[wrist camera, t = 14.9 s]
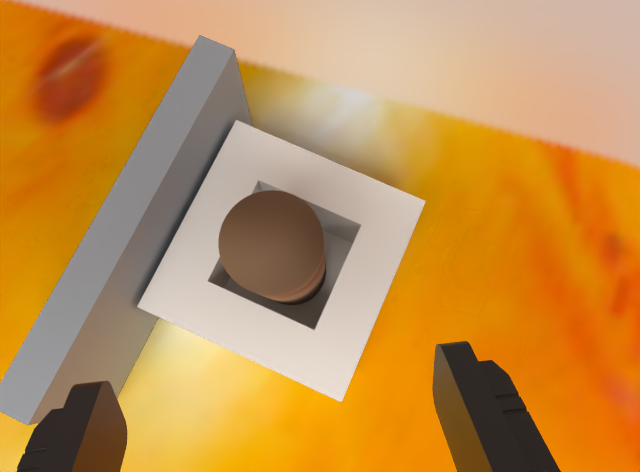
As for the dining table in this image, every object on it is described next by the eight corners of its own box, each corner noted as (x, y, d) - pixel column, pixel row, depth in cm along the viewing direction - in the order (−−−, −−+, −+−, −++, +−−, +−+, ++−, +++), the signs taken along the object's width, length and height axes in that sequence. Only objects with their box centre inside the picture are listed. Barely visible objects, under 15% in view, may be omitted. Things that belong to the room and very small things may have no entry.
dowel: (308, 316, 33) (297, 312, 21) (246, 287, 33) (200, 268, 21) (336, 253, 34) (340, 215, 22) (275, 226, 34) (246, 174, 22)
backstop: (113, 405, 32) (27, 425, 22) (42, 370, 32) (-72, 376, 23) (254, 132, 36) (234, 49, 27) (190, 104, 37) (147, 13, 27)
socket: (335, 394, 33) (341, 402, 27) (166, 315, 34) (136, 307, 28) (406, 226, 35) (425, 201, 30) (247, 158, 36) (236, 119, 31)
